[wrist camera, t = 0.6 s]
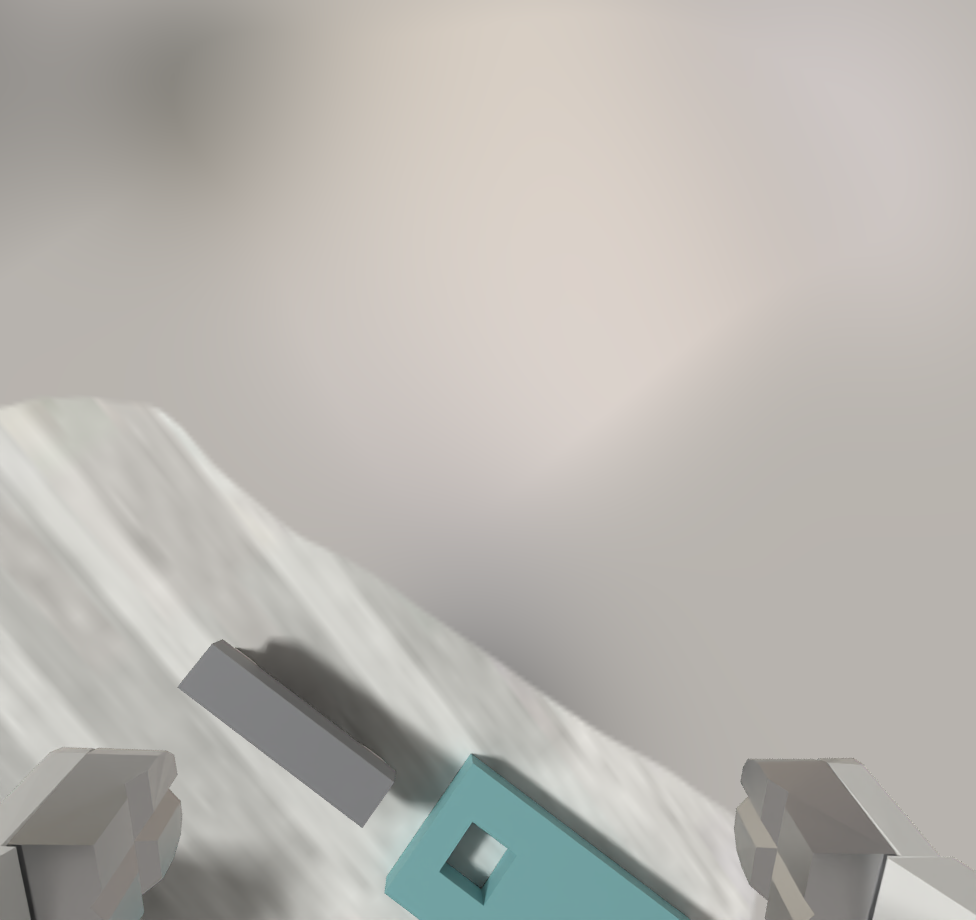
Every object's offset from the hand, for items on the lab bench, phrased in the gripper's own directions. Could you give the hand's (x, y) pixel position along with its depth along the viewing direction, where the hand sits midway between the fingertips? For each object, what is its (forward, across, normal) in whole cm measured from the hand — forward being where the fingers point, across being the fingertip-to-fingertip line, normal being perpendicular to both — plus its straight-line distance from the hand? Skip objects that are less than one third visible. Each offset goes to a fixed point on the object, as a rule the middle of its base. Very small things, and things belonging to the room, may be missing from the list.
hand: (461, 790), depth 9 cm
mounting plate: (+34, +6, -43) cm, 55 cm away
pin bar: (+38, -15, -28) cm, 50 cm away
